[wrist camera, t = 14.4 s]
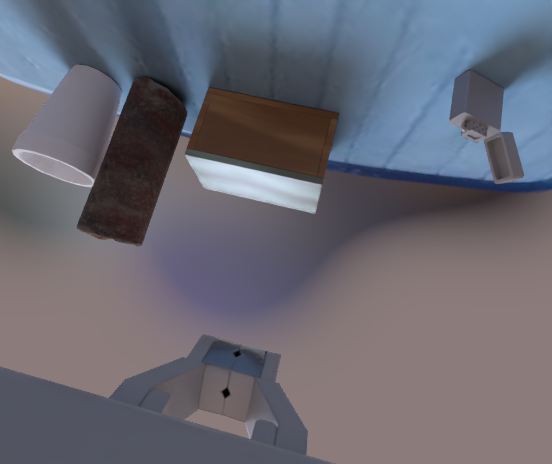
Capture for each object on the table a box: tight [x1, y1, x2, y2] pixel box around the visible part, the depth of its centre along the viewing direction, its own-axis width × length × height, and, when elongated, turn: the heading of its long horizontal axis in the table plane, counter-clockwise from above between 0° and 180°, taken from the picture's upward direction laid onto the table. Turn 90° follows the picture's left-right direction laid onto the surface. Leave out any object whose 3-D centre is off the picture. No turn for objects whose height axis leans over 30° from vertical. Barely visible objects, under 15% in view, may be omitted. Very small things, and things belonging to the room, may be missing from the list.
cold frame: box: [187, 88, 339, 178], centre depth 44 cm, size 9×16×8 cm, turn 92°
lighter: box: [449, 70, 524, 184], centre depth 30 cm, size 7×2×8 cm, turn 70°
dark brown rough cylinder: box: [77, 77, 187, 246], centre depth 43 cm, size 8×7×20 cm
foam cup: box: [12, 64, 122, 187], centre depth 44 cm, size 10×9×13 cm
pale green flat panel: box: [185, 149, 324, 214], centre depth 43 cm, size 10×16×1 cm, turn 91°
